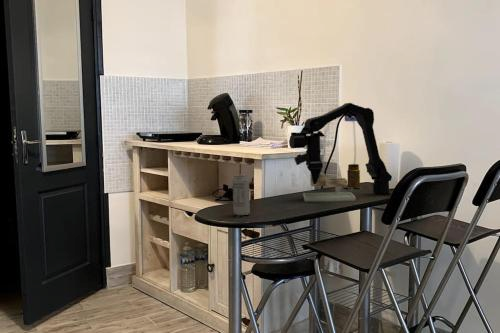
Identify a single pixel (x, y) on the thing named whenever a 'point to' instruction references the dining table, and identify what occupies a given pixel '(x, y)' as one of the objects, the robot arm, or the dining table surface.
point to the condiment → (353, 175)
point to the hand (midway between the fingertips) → (314, 183)
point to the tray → (328, 197)
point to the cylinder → (338, 188)
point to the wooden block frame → (329, 181)
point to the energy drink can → (241, 194)
